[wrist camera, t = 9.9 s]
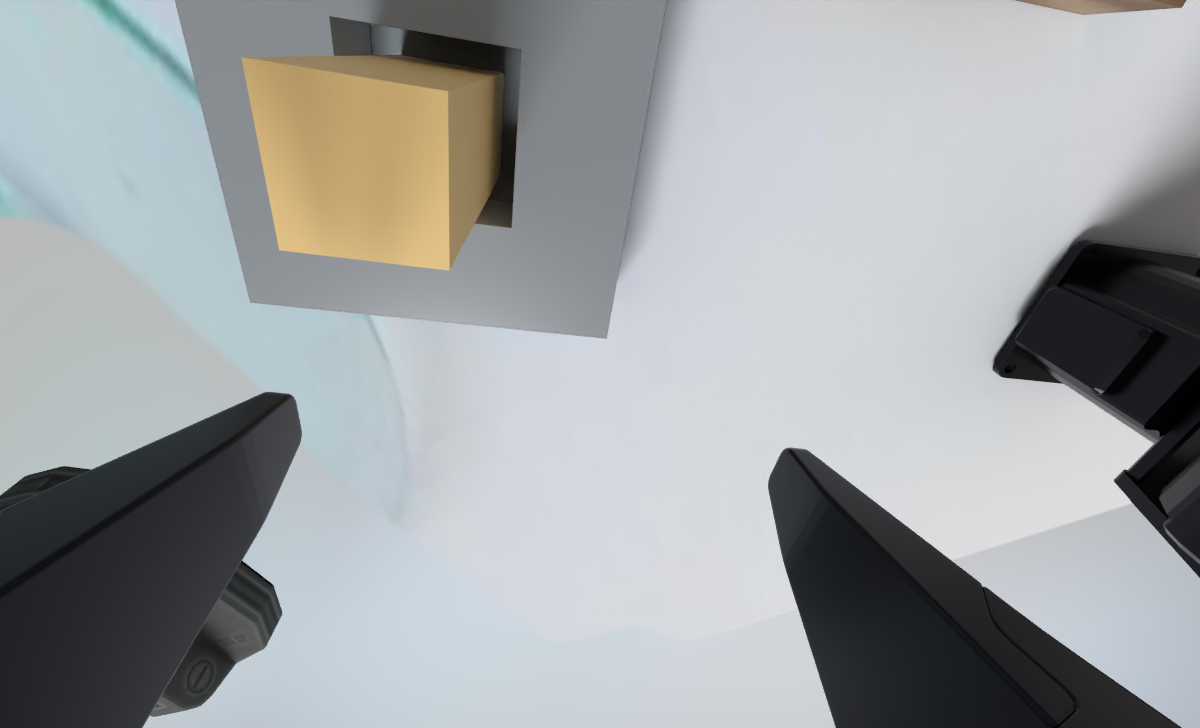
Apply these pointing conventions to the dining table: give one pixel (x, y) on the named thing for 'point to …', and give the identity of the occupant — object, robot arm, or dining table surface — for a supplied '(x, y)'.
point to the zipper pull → (225, 634)
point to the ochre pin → (376, 153)
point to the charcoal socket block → (503, 229)
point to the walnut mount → (1107, 5)
